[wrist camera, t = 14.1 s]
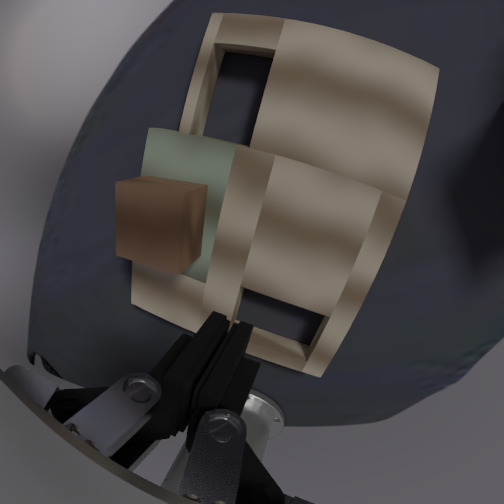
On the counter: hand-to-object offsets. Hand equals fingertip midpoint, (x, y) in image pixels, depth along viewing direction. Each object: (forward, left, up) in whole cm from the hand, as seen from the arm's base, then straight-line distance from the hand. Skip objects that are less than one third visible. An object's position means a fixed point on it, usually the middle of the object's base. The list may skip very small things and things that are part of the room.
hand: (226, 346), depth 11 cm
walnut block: (0, +9, -12) cm, 15 cm away
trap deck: (+3, +3, -14) cm, 15 cm away
